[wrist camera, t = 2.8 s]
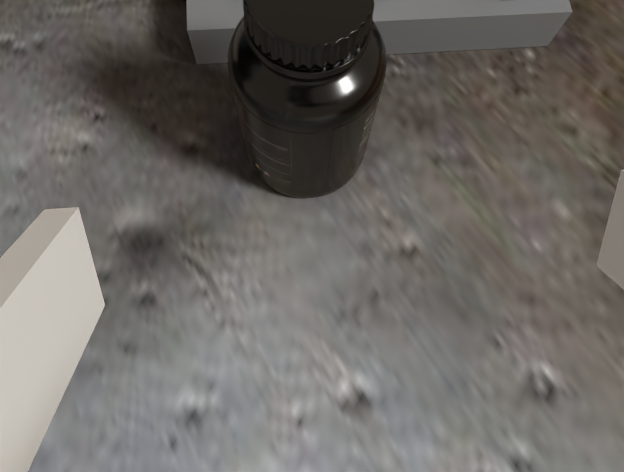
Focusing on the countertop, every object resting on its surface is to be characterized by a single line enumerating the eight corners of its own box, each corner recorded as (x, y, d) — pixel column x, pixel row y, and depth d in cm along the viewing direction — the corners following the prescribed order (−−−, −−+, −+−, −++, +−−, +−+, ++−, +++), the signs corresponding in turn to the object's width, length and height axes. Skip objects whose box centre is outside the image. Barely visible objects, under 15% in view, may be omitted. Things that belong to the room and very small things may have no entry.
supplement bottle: (307, 75, 31) (316, -113, 19) (387, 151, 30) (447, -4, 18) (219, 143, 29) (174, -19, 18) (300, 226, 28) (307, 109, 17)
